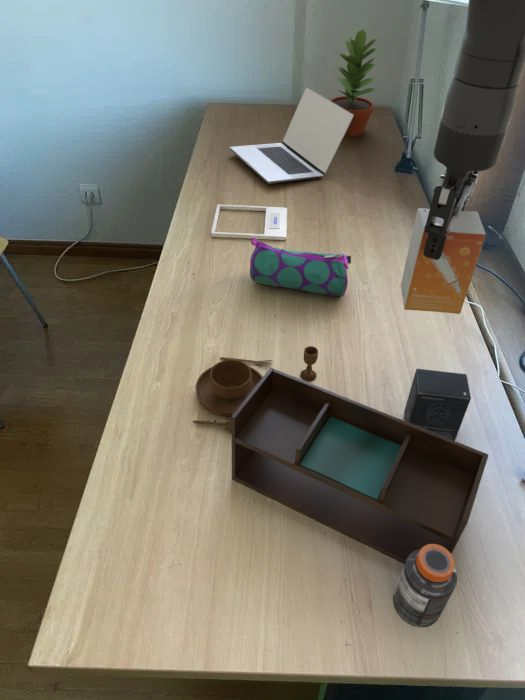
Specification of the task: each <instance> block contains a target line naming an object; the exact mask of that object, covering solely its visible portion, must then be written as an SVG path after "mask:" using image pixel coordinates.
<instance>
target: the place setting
mask: <svg viewBox="0 0 525 700" xmlns="http://www.w3.org/2000/svg"><path fill="white" fill-rule="evenodd" d="M318 356H319V349H318V348H317V347H315V346H313V345H308V346H306V347H305V348H304V350H303V362H304V364H306V365H307V366H306V368H305V369H303V370H301V372H300V377H301V379H302V380H303V381H306V382H309V381H311V382H312V381H314V380H315V379H316V378H317V373H316V371H314V370H313V366H314V365H315V364H316V363H317V362H318V358H319V357H318ZM219 359H221V361H219V362H217V363H215V364H214V365H212V366H210V367H208V368H207V369H205V371H202V372H201V374H200V375H199V377H198V378H197V380H196V383H195V395H196V398H197V400H198V401H199V402H200V405H202V407H204V408H205V409H206V410H208V411H209V412H211V413H214V414H215V415H216V414H217V415H220V416H224V417H225V416H226V417H231V416H232V415H233V414H234V413H235V411H236V410H237V409H238V407H239V406H240V405H241V404H242V402H243V401H244V400H245V399H246V397H247V396H248V395H249V394H250V392H251V391H252V390H253V389H254V387H255V386H256V385H257V384H258V382H259V381H260V380H261V379H262V377H263V375H262V374H261V373H260V372H259V371H258V369H256V368H254V367H252V366H250V365H248V364H246V363H251V364H252V363H253V364H256V365H257V366H259V367H263V366H272V365H273V363H272V362H273V361H274V360H272V359H267V360H265V361H264V360H253V359H252V360H251V359H243V358H234V357H224V356H220V357H219ZM191 422H192V423H194V424H200V425H213V426H222V427H224V428H225V429H227V430H229V431H230V430H231V420H230V421H226V422H217V421H209V420H192V421H191Z"/></svg>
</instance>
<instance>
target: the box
mask: <svg viewBox="0 0 525 700" xmlns="http://www.w3.org/2000/svg"><path fill="white" fill-rule="evenodd" d="M469 385H470V384H469V380H468V375H467V373H458V372H449V371H442V370H433V369H425V368H424V369H423V368H415V372H414V375H413V379H412V383H411V386H410V390H409V394H408V397H407V400H406V403H405V407H404V411H403V420H404V421H406V422H409V423H411V424H414V425H416V426H419V427H421V428H424V429H426V430H429V431H431V432H434V433H436V434H439V435H441V436H444V437H446V438H449V439H451V440H454V441H456V439H457V437H458V434H459V431H460V428H461V426H462V424H463V421H464V418H465V416H466V414H467V411H468V408H469V405H470V403H471V400H472V395H471V390H470V386H469Z"/></svg>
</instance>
